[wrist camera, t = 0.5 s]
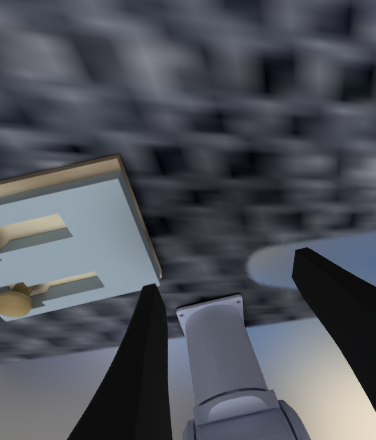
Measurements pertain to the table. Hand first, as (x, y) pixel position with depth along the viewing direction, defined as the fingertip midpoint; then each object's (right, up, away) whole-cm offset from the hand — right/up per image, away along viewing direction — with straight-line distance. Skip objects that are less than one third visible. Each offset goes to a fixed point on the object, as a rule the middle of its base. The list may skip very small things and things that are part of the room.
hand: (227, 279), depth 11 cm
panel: (-12, +1, +6) cm, 14 cm away
